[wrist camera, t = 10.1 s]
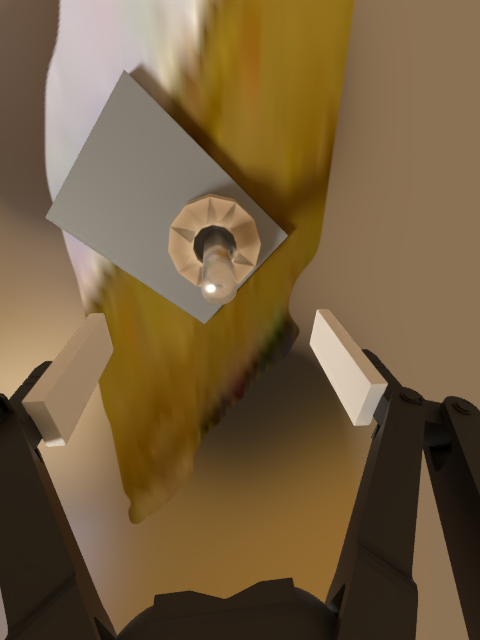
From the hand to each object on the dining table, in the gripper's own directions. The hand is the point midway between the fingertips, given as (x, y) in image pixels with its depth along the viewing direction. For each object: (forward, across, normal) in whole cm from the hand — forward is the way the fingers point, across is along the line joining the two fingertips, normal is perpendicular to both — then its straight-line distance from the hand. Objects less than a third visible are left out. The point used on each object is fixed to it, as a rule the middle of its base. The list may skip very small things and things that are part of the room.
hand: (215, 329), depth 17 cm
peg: (+21, 0, 0) cm, 21 cm away
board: (+23, -5, +2) cm, 23 cm away
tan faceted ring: (+21, 0, 0) cm, 21 cm away
